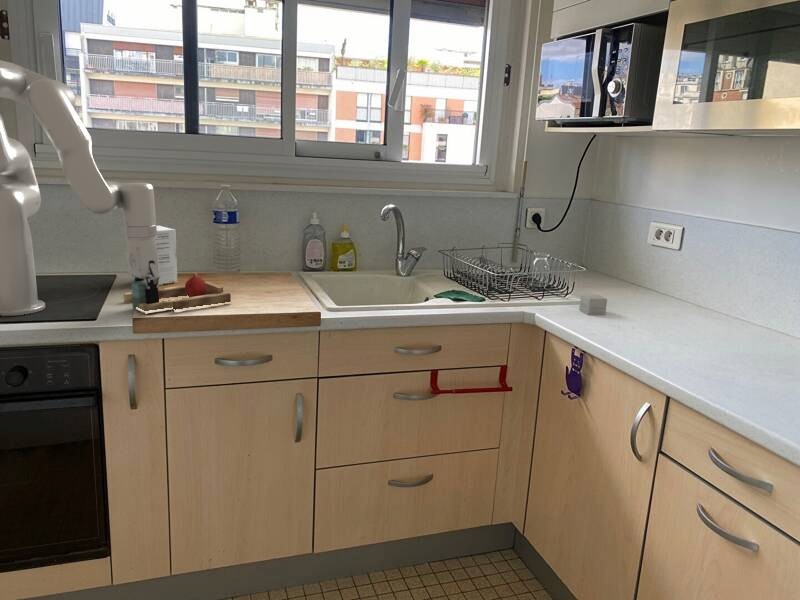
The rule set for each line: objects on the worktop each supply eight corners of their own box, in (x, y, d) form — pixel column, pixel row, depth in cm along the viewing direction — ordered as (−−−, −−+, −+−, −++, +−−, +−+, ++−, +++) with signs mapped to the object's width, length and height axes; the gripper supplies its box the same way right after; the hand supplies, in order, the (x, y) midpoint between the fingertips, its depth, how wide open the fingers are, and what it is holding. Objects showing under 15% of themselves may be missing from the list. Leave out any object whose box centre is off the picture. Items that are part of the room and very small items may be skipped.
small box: (605, 315, 187) (608, 298, 186) (587, 315, 186) (589, 298, 184) (596, 310, 192) (598, 293, 191) (578, 310, 191) (580, 294, 190)
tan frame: (145, 314, 165) (144, 287, 164) (129, 306, 172) (128, 280, 170) (224, 301, 181) (224, 277, 179) (207, 294, 187) (206, 271, 186)
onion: (184, 299, 182) (183, 271, 180) (205, 298, 185) (204, 270, 183) (186, 304, 177) (185, 275, 175) (208, 303, 179) (207, 274, 177)
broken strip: (126, 303, 175) (125, 294, 175) (124, 302, 176) (123, 293, 176) (198, 292, 190) (198, 284, 189) (195, 291, 191) (195, 283, 190)
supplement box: (134, 281, 199) (131, 227, 195) (161, 277, 206) (159, 224, 202) (150, 287, 194) (147, 231, 189) (178, 283, 200) (176, 228, 196)
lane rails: (175, 313, 168) (175, 302, 168) (151, 301, 178) (151, 291, 177) (230, 304, 179) (230, 293, 179) (205, 293, 189) (204, 283, 188)
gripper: (113, 229, 169) (119, 296, 173) (140, 237, 156) (146, 309, 161) (141, 226, 174) (147, 292, 178) (170, 235, 161) (175, 304, 166)
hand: (146, 299), depth 169 cm, fingers open, 6 cm apart
